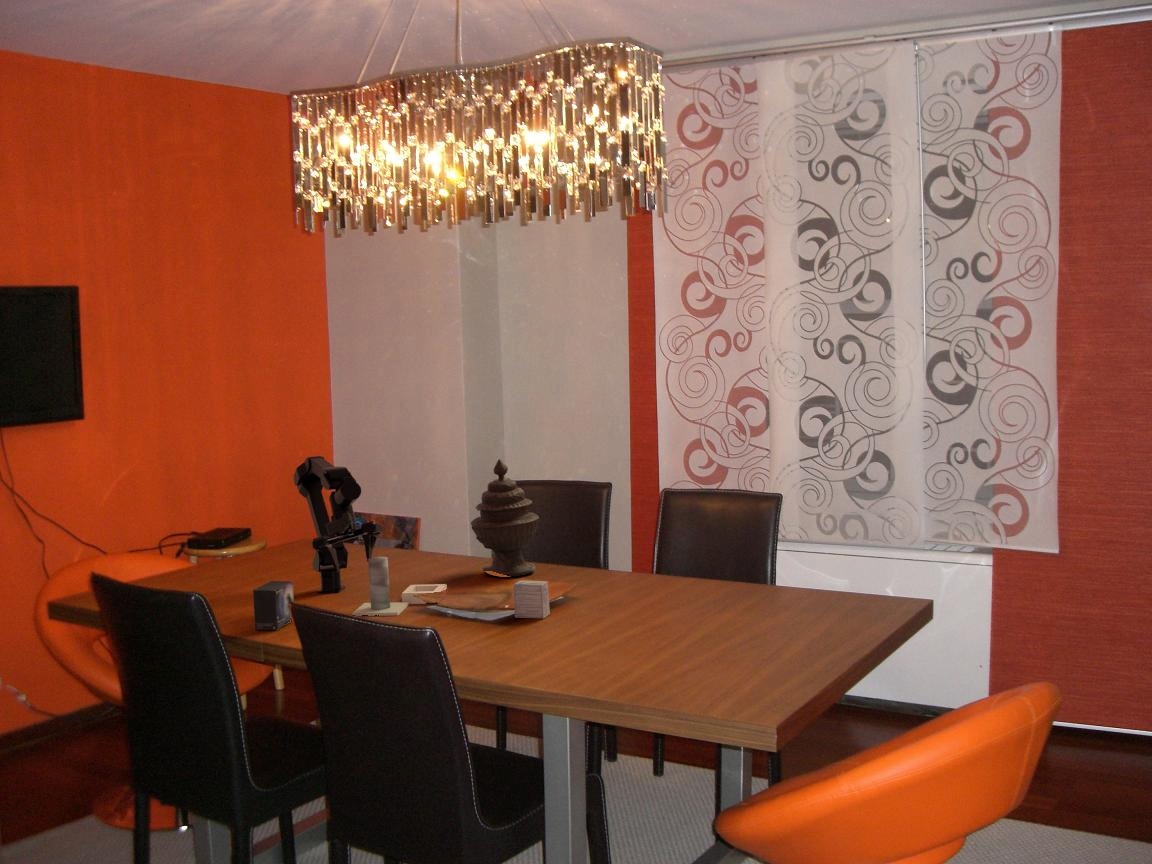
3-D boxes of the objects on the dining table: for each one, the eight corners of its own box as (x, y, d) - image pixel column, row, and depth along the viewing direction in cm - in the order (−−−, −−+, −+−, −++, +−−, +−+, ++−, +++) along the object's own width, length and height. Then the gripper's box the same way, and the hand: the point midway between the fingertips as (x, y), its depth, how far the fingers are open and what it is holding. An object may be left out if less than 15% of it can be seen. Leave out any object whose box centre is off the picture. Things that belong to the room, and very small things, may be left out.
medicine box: (550, 614, 286) (548, 581, 285) (544, 619, 281) (542, 585, 281) (521, 613, 288) (519, 580, 287) (514, 618, 284) (512, 584, 283)
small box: (278, 631, 281) (275, 589, 280) (253, 631, 283) (251, 589, 282) (296, 620, 292) (294, 580, 291) (273, 620, 293) (270, 580, 292)
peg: (380, 604, 301) (377, 556, 300) (394, 606, 299) (391, 557, 297) (367, 608, 297) (364, 559, 296) (381, 610, 294) (378, 561, 293)
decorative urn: (550, 562, 346) (538, 450, 341) (537, 582, 326) (523, 463, 321) (486, 566, 350) (473, 455, 344) (469, 585, 330) (454, 468, 325)
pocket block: (411, 595, 314) (410, 584, 313) (447, 594, 313) (446, 584, 312) (402, 604, 304) (401, 593, 304) (438, 603, 303) (438, 592, 302)
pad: (364, 605, 304) (364, 602, 304) (408, 605, 303) (408, 602, 303) (352, 616, 293) (352, 613, 293) (397, 615, 292) (397, 612, 292)
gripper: (298, 516, 303) (308, 572, 299) (362, 497, 301) (374, 553, 296) (316, 523, 314) (326, 577, 310) (378, 504, 311) (389, 558, 307)
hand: (353, 566), depth 305 cm, fingers open, 9 cm apart
